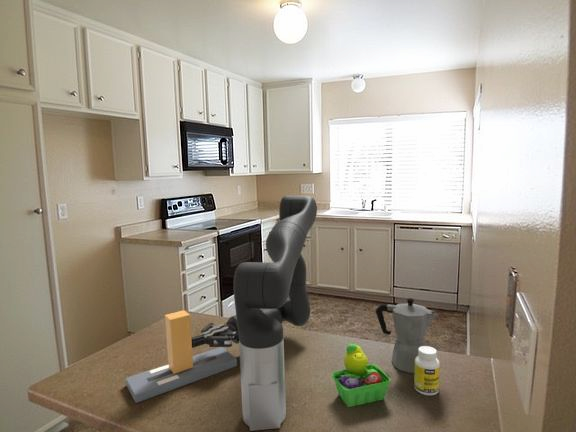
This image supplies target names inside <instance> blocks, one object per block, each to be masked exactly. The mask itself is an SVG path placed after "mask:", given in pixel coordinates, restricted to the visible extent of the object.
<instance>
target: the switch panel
mask: <svg viewBox="0 0 576 432" xmlns="http://www.w3.org/2000/svg"><path fill="white" fill-rule="evenodd" d="M237 366H238V359H237V358H236V357H235V356H234V355H233V354H231V353H230V352H229V351H228V350H227V349H225V347H215V348H213V349H210V350H207V351H204V352H201V353H199V354H195V355H193V368H190V369H187V370H184V371H181V372H178V373H175V374H174V373H173V372H172V371H171V370H170V368H169V365H168V363H167V364H164V365H161V366H159V367H158V366H157V367H154V368H152V369H149V370H146V371H143V372H140V373H136V374H133V375H130V376H128V377H125V382H126V383H125V385H126V387H127V389H128V391H129V393H130V395H131V397H132V399H133V401H134V402H135V404H137V403H140V402H143V401H145V400H148V399H151V398H154V397H156V396H159V395H162V394H164V393H165V394H166V393H167V392H170V391H172V390H175V389H178V388H180V387H184V386H187V385H189V384H191V383H194V382H198V381H199V380H202V379H206V378H208V377H210V376H213V375H216V374H219V373H222V372H224V371H227V370H230V369H232V368H236V367H237Z"/></svg>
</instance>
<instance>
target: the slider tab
mask: <svg viewBox="0 0 576 432" xmlns="http://www.w3.org/2000/svg"><path fill="white" fill-rule="evenodd" d="M164 324H165V335H166V347H167V362H168V363H167V364H168V365H169V368H170V370H171V371H172V372H173V373H174V374H175V373H178V372H181V371H184V370H187V369H190V368H193V356H194V355H193V348H192V340H191V338H192V329H191V328H192V327H191V314H190V313H188V312H187V311H186V310H180V311H179V310H178V311H176V312H171V313H168V314H165V315H164Z"/></svg>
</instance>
